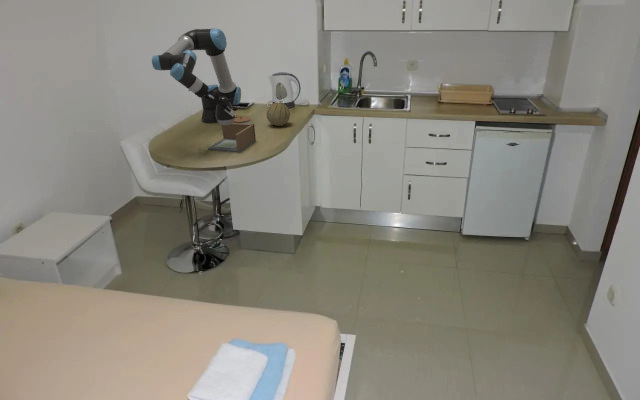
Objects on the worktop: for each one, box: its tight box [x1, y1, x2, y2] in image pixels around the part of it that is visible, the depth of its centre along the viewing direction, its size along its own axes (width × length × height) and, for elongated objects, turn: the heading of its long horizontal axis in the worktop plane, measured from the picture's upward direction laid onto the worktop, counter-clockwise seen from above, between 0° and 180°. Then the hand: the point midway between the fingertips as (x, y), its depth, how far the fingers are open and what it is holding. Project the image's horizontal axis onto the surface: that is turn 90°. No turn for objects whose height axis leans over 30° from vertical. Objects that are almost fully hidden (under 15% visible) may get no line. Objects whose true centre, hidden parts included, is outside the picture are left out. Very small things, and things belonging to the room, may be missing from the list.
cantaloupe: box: [266, 101, 291, 127], centre depth 283 cm, size 15×15×15 cm
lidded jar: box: [233, 115, 251, 124], centre depth 276 cm, size 11×11×9 cm
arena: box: [206, 123, 257, 153], centre depth 251 cm, size 20×20×10 cm
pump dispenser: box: [216, 97, 236, 126], centre depth 243 cm, size 10×10×15 cm
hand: (230, 112), depth 245 cm, fingers closed on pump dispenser, 9 cm apart
